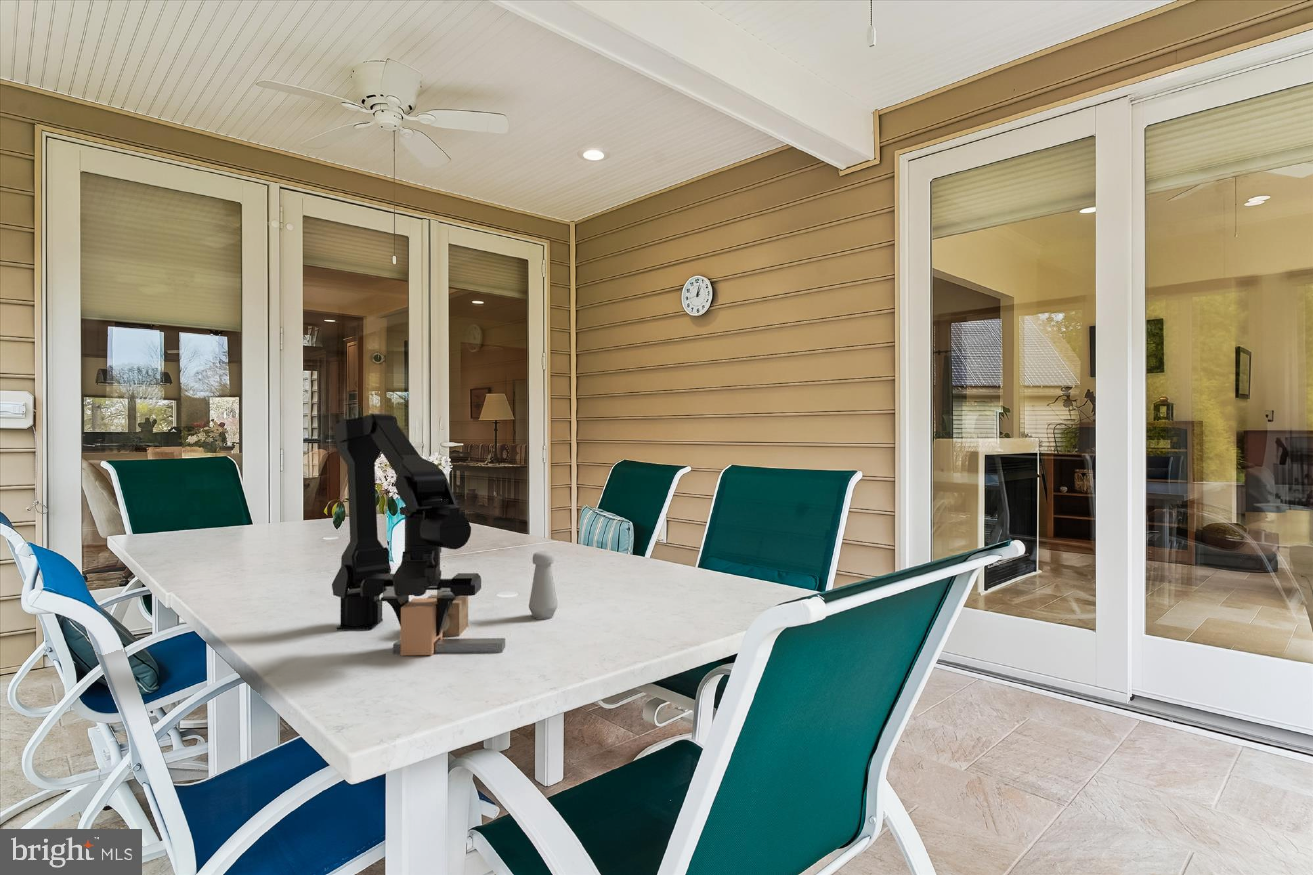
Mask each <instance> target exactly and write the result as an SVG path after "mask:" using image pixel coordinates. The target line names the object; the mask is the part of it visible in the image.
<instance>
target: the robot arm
mask: <svg viewBox="0 0 1313 875" xmlns="http://www.w3.org/2000/svg"><path fill="white" fill-rule="evenodd" d="M398 423H399V422H398V418H397V417H396V416H395V415H392V414H390V413H370V414H366V415H363V416H360V417H355V418H354V417H343V418H341V419H340V421H339V422H338V423H336V424H335V426H334V429H333V438H334V440H335V442H336V450H337V453H338V455H339V456H340V457H341V459H342V460H343V461H344V463H345V465H346V468H347V470H346V471H347V472H346V473H347V495H348V496H347V497H348V517H349V518H348V519H349V520H348V521H349V543H348V544H347V546H346V548H345V550H344V551H343V553H342V555H341V560H340V566H339V569H338V571H337V574H336V575H335V577H334V579H333V581H332V583H331V588H332V595H333V596H335V597H338V598H340V622H339V623H340V625H339V624H338V625H337V626H336V630H345V631H346V630H355V631H356V630H372V629H374V628H375V627H377V626H378V625H379V624H381V623H382V622H383V621H384V619H383V602H385V603H386V602H387V604H389V605H390V607H391V608H392V610H393V612H394V613H395V615H396V618H397V621H398V623H399V626H400V627H401V607H402V606H404V605H405V604H407V603H408V602H409V601H410V596H414V597H421V596H424V595H426V593H427V591H437V590H441V592H442V595H440V596H439V597H438V598H437V603H438V611H437V621H436V636H439V635H440V633H441V631H442V628H443V625H444V622H445V620H446V617H447V614H448V611H449V609H450V607H451V605H452V603H453V601H454V600H456V599H457V598H458V597H459V596H468V597H471V596H476V595H477V594H478V592H480V590H482V577H481V575H480V574H479V573H476V572H473V573H470V572H469V573H468V572H467V573H465V572H464V573H463V572H462V573H460V572H459V573H456V575H454V576H453V577H451V578H441V577H442V569H441V553H442V549H448V550H459V549H461V548H462V547H464V546H465V545H466V544H467V543H468V541H469V539H470V538H471V534H472V526H471V524H470V521H469V519H468V518H467V516H465V515H463V514H461V507H460V506H459V505H458V503H457V497H456V496H455V494H454V492H453V489H452V487H451V485H450V482H449V480H448V478H447V476H446V474H445V473H444V471H443V470H442V469H441V468H440V467H439V466H438V465H437V464H436V463H435V462H433V461H430V460H427V459H425V458H423V457H422V456H421V455H420V454H419V452H418V450H416V448H415V447H414V445H413V444H412V443H411V441H410V440H409V438H408V437H407V436H406V435H405V433H404V432H403V430H402V428H401V427H400V426H399V424H398ZM381 454H382V455H383V456H384V458H385V459H386V461H387V463H388V465H390V467H391V468H392V470H393V472H394V474H395V477H396V478H395V480H394V488H395V490H396V492H397V495H398V496H399V498H400V500H401V501H402V503H403V504H404V505H405V506H403V507H401V509H400V511H399V514H400V515H401V516H404V551H402V555H401V563H400V565H399V566H398V567H397V569H396V571H395V572H394V573H391V572H392V569H391V564H390V551H389V548H388V547H384V546H383V544H382V542H381V541H380V540H379V537H378V535H379V534H378V518H377V517H378V516H377V515H378V514H377V513H378V512H377V511H378V510H377V492H376V491H377V490H376V489H377V486H376V471H375V470H376V468H375V463H376V462H377V460H378V459H379V456H380V455H381ZM381 595H382V597H380V596H381Z"/></svg>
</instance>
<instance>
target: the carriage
mask: <svg viewBox="0 0 1313 875" xmlns="http://www.w3.org/2000/svg"><path fill="white" fill-rule="evenodd" d="M437 611H438V603H437V598H428V597H425V598H422V597H421V598H412V599H411V600H409V602H408V603H407V604H405V605H404V606H402V607H401V626H400V639H401V653H400V656H432V655H433V654H435V653H434V642H435V641H436V640H437V639H443V636H442V631H441V633H440V635H439V636H436V621H437Z"/></svg>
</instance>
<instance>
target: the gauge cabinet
mask: <svg viewBox="0 0 1313 875" xmlns="http://www.w3.org/2000/svg"><path fill="white" fill-rule="evenodd" d="M427 598H437V594H430V595H428V596H427ZM468 627H469V596H459V597H458V598H457V599H456V600H454V601H453V603H452V605H451V607H450V609H449V611H448V614H447V617H446V620H445V622H444V625H443V628H442V637H459V636H461V634H462V633H463V632H464V631H465V630H466V629H467V628H468Z"/></svg>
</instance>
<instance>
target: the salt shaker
mask: <svg viewBox="0 0 1313 875" xmlns="http://www.w3.org/2000/svg"><path fill="white" fill-rule="evenodd" d="M554 561H555V556H554V554H553V553H552V551H546V550H545V551H537V552H534V553H533V554H532V564H533V565H535V567H534V570H533V571H534V572H533V577H532V578H533V579H532V583H531V590H530V597H529V603H528V609H529V611H530V613H531V615H532V617H533V619H534V618H536V620H547V618H549V619H552V618H553V617H554V615H555V613H556V611H557V609H558V606H559V605H558V598H557V591H556V586H555V581H554V575H553V570H552V564H553V563H554Z"/></svg>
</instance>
